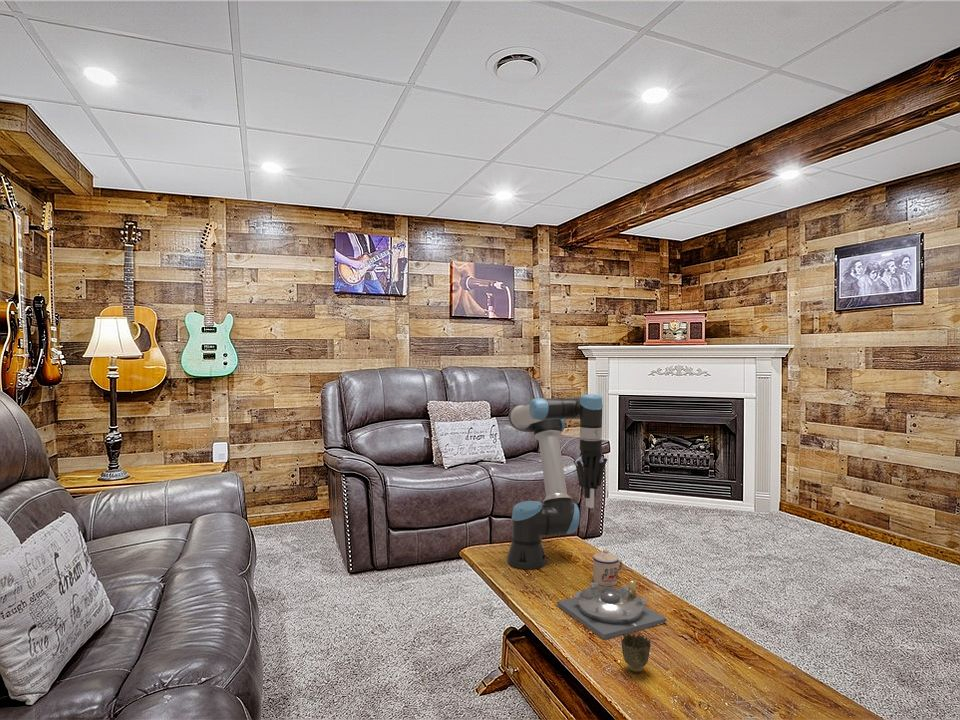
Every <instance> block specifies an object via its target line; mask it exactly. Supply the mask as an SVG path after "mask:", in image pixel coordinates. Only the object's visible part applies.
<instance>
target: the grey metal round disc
mask: <svg viewBox="0 0 960 720" xmlns="http://www.w3.org/2000/svg"><path fill="white" fill-rule="evenodd" d="M575 597H577V598H578V608H579V610H580V611H581V612H582V613H583V614H584V615H586V616H587V617H589V618H591V619H594V620H597V621H600V622H605V623H612V624H625V623H631V622H634V621H637V620H639V619H640V618H641V617H642V615H643V605H645V606H646V605H647V604H648V600H647V599H648V598H646V597H640V596H639V595H638V594H637V580H636V579H633V578H630V579H628V585H626V584H623V585H621V588H620V587H616V586H602V585H599V584H598V583H597V582H594V581H593V582H589V587H587V588H585V589H582V590H581V591H577V590H575V591H574V598H575Z"/></svg>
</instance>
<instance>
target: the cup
mask: <svg viewBox="0 0 960 720" xmlns="http://www.w3.org/2000/svg"><path fill="white" fill-rule="evenodd" d="M622 636H623V637H622V638H621V639H620V640H621V651H622V657H623V661H625V664H627V667H628V670H629V671H630V672H632V673H633V674H634V673H635V674H640V673H642V672H643V669H644V668H643V667H645V666H646V665H647V663H648V661H649V657H650V651H651V640H650V639H648V637H647V636H646V637H644V635H641V634H637V635H636V634H635V633H633V634H631V633H628V634H624V635H622Z"/></svg>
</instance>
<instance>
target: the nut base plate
mask: <svg viewBox="0 0 960 720" xmlns="http://www.w3.org/2000/svg"><path fill="white" fill-rule="evenodd" d="M556 606H557V607H558V608H560V609H561V610H562V611H563V612H565V613H567V614H568V615H569V616H571V617H572V618H573V619H575V621H577V622H579V623H580V624H581V625H583V627H586V628H587V629H588V630H590V631H591V632H592V633H594V634H595V635H596V636H597V637H599V638H601V639H602V640H604V641H605V640H609V639H612V638H617V637H619V636H624V635H627V634H628V633H629V634H631V633H634V631H635V632H638V630H639V631H641V629H643V630H646V629H650V628H653V627H652V626H654V627H656V626H655V625H657V626H659V625H658V624H661V623H665V622H666V623H667V618H666V616H664V615H661V614H660V613H658V612H656V611H655V610H653V609H652V608H649V607H648V606H646V605H645V604H643V615H642V617H641V618H640V619H639V620H637V621H634V622H631V623H625V624H612V623H605V622H600V621H597V620H594V619H591V618H589V617H587V616H586V615H584V614H583V613H582V612H581V611H580V610H579V608H578V598H577V597H575V596H574V597H572V598H567V599H562V600H558V601H556ZM666 623H665V624H666ZM661 625H662V624H661ZM649 627H650V628H649ZM645 628H646V629H645ZM630 632H631V633H630ZM623 634H624V635H623ZM616 636H617V637H616Z"/></svg>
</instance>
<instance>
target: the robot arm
mask: <svg viewBox="0 0 960 720" xmlns="http://www.w3.org/2000/svg"><path fill="white" fill-rule="evenodd" d="M603 407H604V405H603V397H602V396H601V395H600V394H594V393H593V394H589V393H588V394H587V393H586V394H581V396H580V397H579V396H575V397H569V398H568V397H567V398H566V397H565V398H564V397H563V398H562V397H561V398H554V397H553V398H548V397H547V398H546V397H545V398H543V397H539V398H538V397H537V398H533V399H531V401H530V403H529V404H522V405H521V404H519V405H516V406H514V407H512V409H510V411H509V412H508V418H507V419H508V422H509V425H510V426H511V427H512V428H513V429H515V430H517V431H519V432H523V433H533V435H534V438H535V440H538V445H539V452H540V459H541V467H542V475H543V484H544V490H545V491H544V492H545V497H544V499H543V501H542V502H541V501H540V500H539V501H537V500H525V501H520V502H519V503H516V504H515V505H514V506H513V507H512V512H511V513H512V514H511V543H510V547H509V550H508V552H507V557H506V558H507V561H506V562H508V563H507V564H508V565H509V566H510V565H511V566H510V567H512V566H513V568H515V569H519V570H537V569H540V568H541V569H542V568H543V567H545V566H546V565H547V563H546V562H547V559H546V554H545V551H544V548H543V544H542V541H543V539H542V537H543V536H557V535H563V536H564V535H569V534H573V533H575V532H576V531H577V530H578V527H579V524H580V515H581V513H580V508H579V505H578V504H576V503H575V502H573V498H572V496H570V495H568V492H567V484H566V477H565V470H564V464H563V456H562V451H561V444H560V438H561V436H562V434H563V431H564V430H565V427H566V424H565V423H566V420H580V421H579V438H580V439H579V451H580V453H579V455H578V456H579V457H578V458H577V459H574V460H573V464H574V466H575V468H576V473H577V479H578V484H579V485H578V486H580V487H581V488H583V489H584V498H585V507H587V508H589V509H594V508H595V498H596V496H597V493H596V492H597V490H598V489H599V487H600V486H601V485H602V480H603V477H604V470H605V466H606V463H607V462H608V458H605V457H603V456H602V450H603V442H602V438H603ZM542 503H543V504H542Z"/></svg>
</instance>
